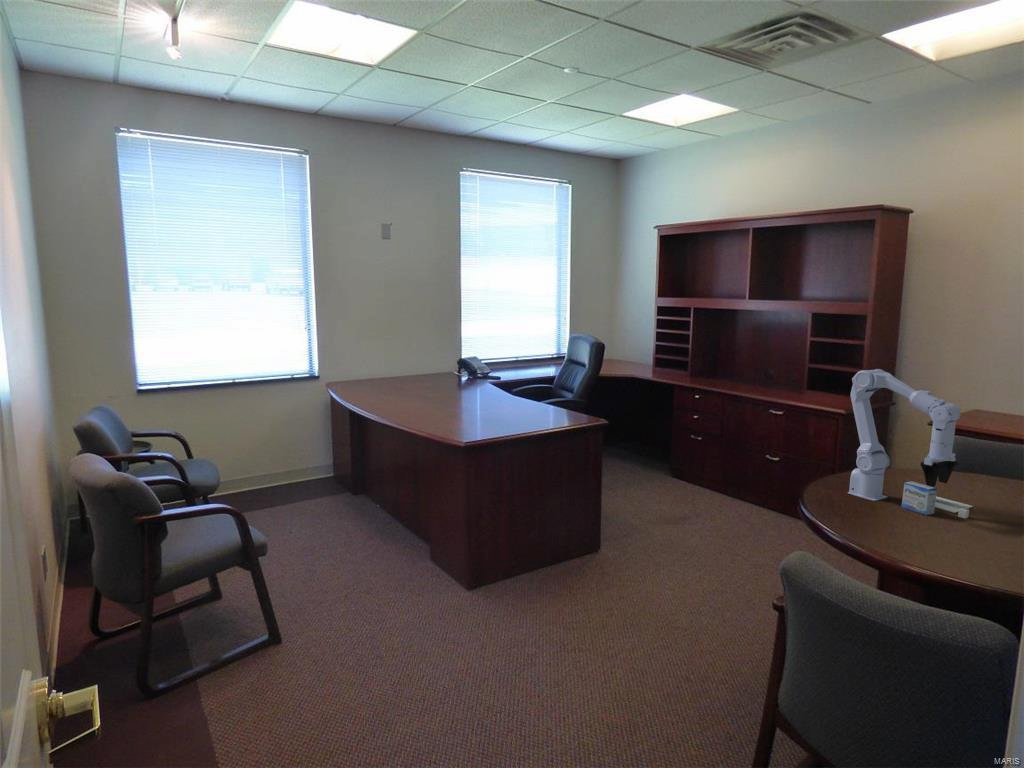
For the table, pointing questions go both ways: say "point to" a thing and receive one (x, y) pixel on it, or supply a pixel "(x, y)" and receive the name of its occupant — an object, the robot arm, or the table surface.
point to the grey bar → (952, 504)
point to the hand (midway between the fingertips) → (936, 484)
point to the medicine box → (919, 498)
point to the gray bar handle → (963, 513)
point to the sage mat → (949, 508)
